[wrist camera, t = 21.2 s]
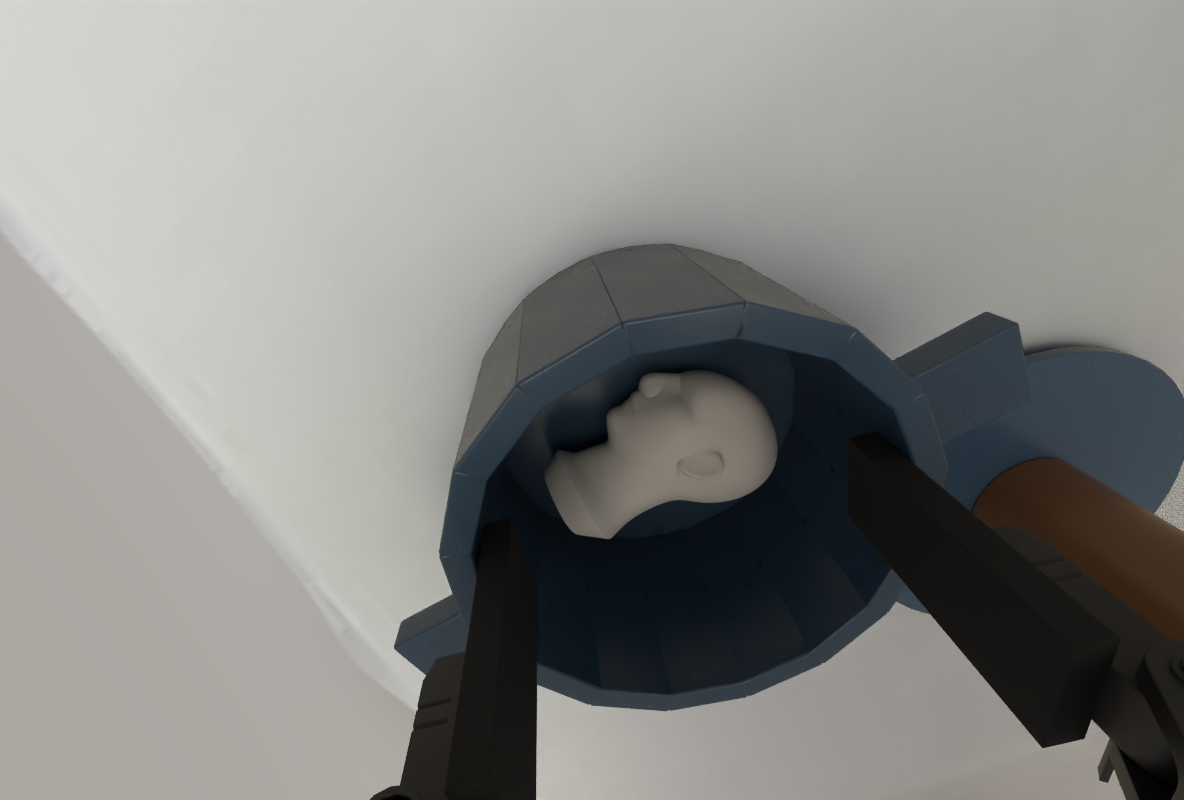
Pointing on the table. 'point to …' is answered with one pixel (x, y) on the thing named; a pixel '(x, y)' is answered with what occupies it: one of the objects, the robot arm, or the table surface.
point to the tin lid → (1086, 474)
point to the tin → (685, 528)
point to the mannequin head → (666, 452)
